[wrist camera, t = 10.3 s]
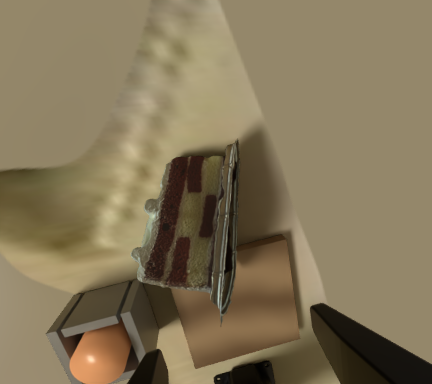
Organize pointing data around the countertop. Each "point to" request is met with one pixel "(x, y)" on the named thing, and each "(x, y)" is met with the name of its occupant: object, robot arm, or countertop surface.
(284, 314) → the serving board
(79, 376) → the brown egg
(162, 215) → the chocolate cake
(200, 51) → the countertop surface
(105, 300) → the housing
